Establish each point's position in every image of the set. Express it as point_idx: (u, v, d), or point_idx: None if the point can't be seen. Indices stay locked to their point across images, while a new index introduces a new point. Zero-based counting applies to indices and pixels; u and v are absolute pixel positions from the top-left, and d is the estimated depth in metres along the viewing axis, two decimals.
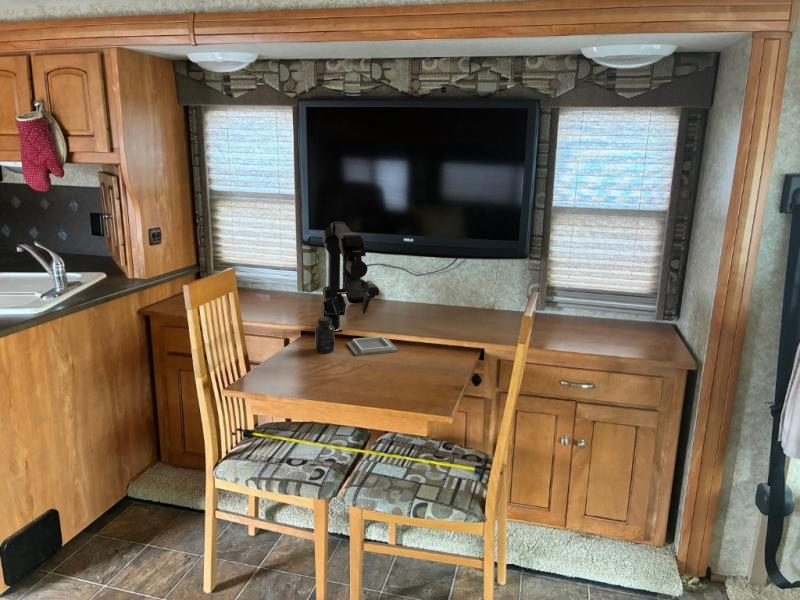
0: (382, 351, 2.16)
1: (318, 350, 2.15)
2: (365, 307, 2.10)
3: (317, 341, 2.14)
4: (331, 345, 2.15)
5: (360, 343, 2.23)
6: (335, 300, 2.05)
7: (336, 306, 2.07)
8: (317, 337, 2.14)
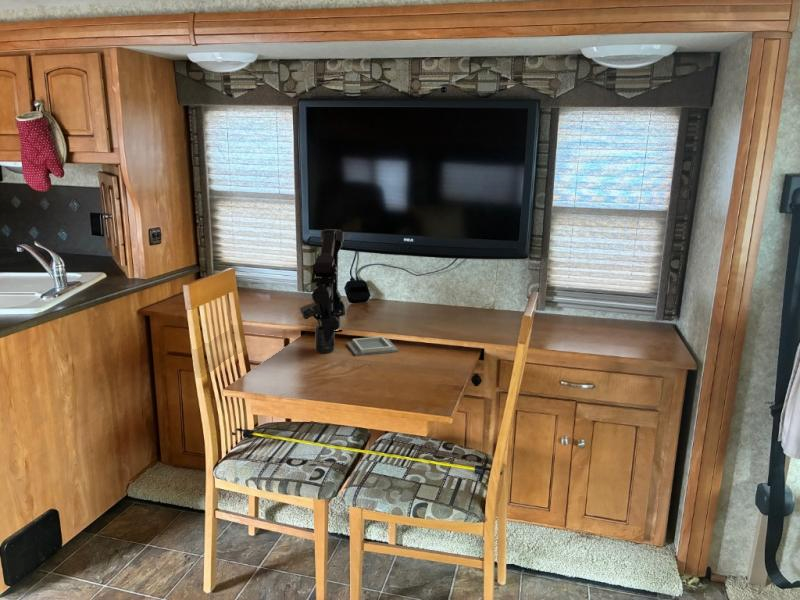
0: (382, 351, 2.16)
1: (318, 350, 2.15)
2: (324, 335, 2.12)
3: (317, 341, 2.14)
4: (331, 345, 2.15)
5: (360, 343, 2.23)
6: (315, 318, 2.18)
7: None
8: (317, 337, 2.14)
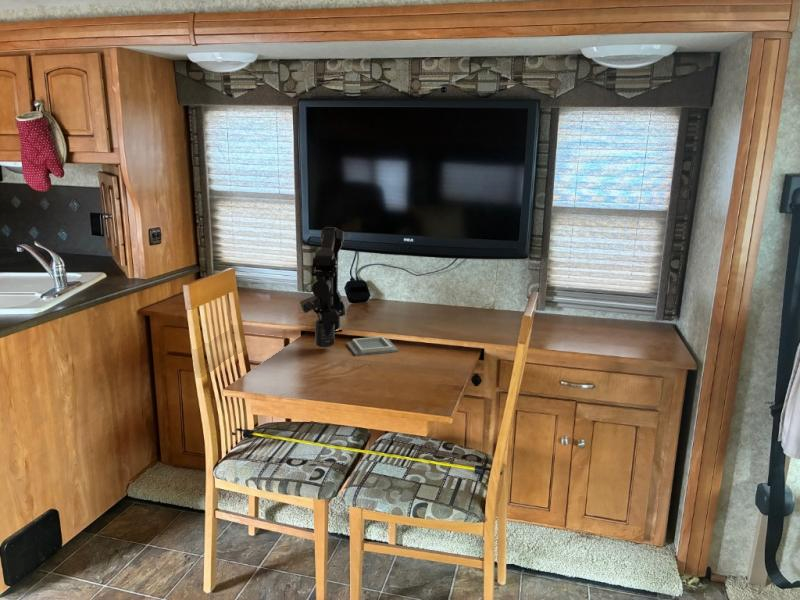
0: (382, 351, 2.16)
1: (318, 344, 2.14)
2: (324, 328, 2.11)
3: (317, 335, 2.14)
4: (331, 339, 2.14)
5: (360, 343, 2.23)
6: (315, 311, 2.18)
7: None
8: (316, 331, 2.13)
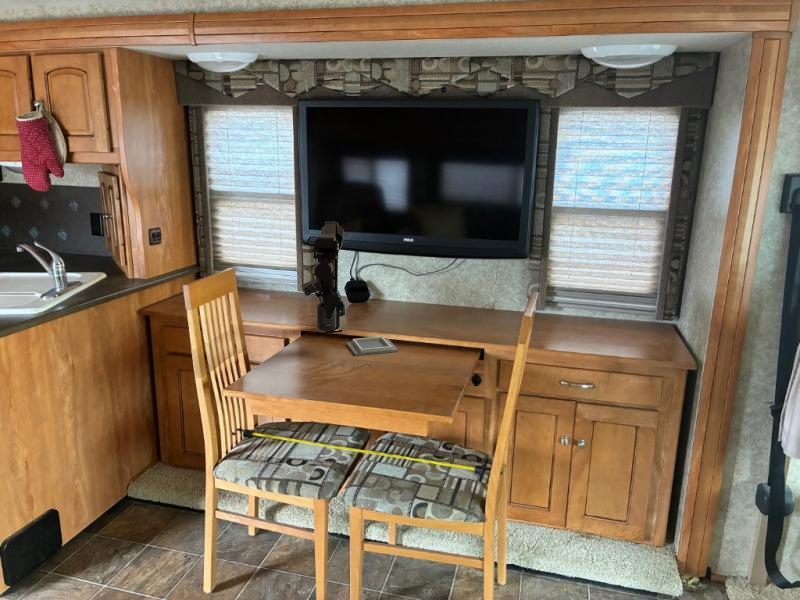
0: (382, 351, 2.16)
1: (319, 327, 2.13)
2: None
3: (318, 318, 2.12)
4: (333, 322, 2.13)
5: (360, 343, 2.23)
6: (316, 295, 2.16)
7: None
8: (318, 314, 2.12)
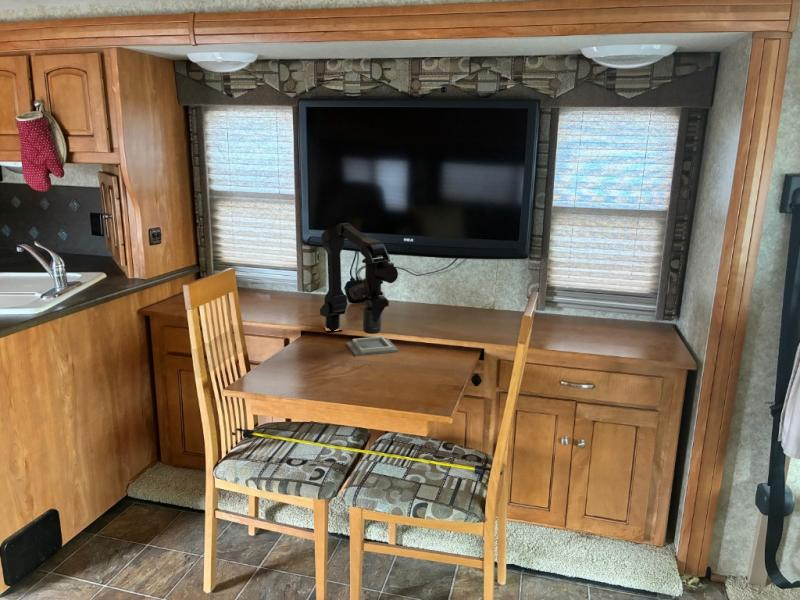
0: (382, 351, 2.16)
1: (366, 331, 2.17)
2: (373, 315, 2.14)
3: (365, 322, 2.16)
4: (379, 326, 2.17)
5: (360, 343, 2.23)
6: None
7: None
8: (365, 318, 2.16)
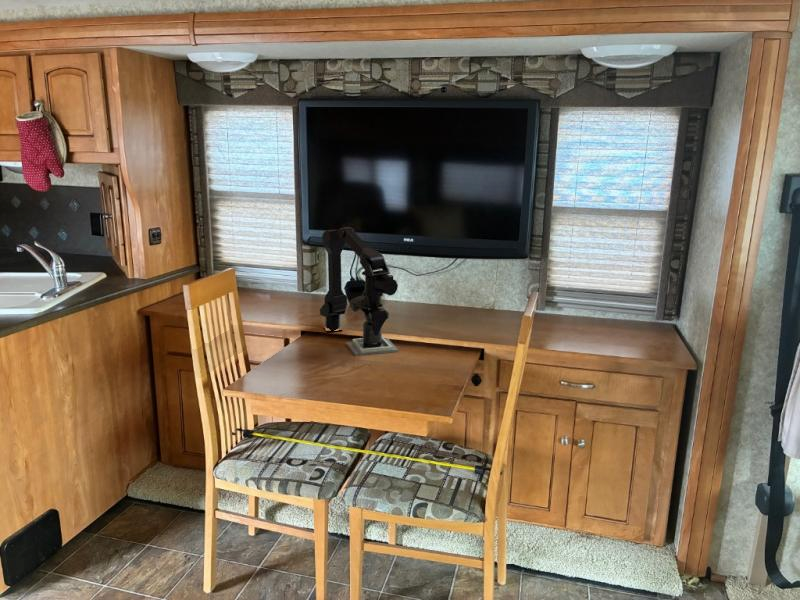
0: (382, 351, 2.16)
1: (366, 345, 2.18)
2: None
3: (365, 337, 2.18)
4: (379, 341, 2.18)
5: (360, 343, 2.23)
6: None
7: (365, 316, 2.23)
8: (365, 333, 2.17)
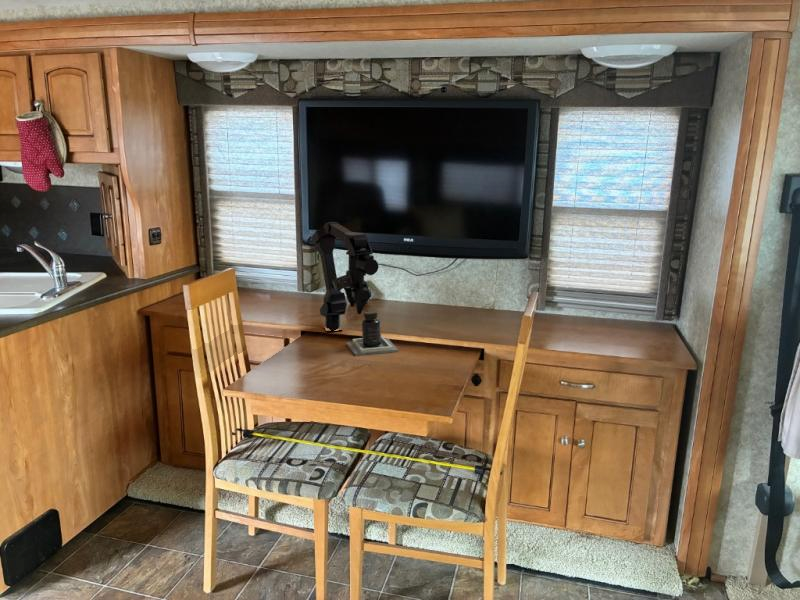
0: (382, 351, 2.16)
1: (366, 344, 2.18)
2: (356, 307, 2.17)
3: (364, 335, 2.18)
4: (378, 338, 2.18)
5: (360, 343, 2.23)
6: (345, 289, 2.26)
7: (348, 296, 2.26)
8: (364, 331, 2.18)
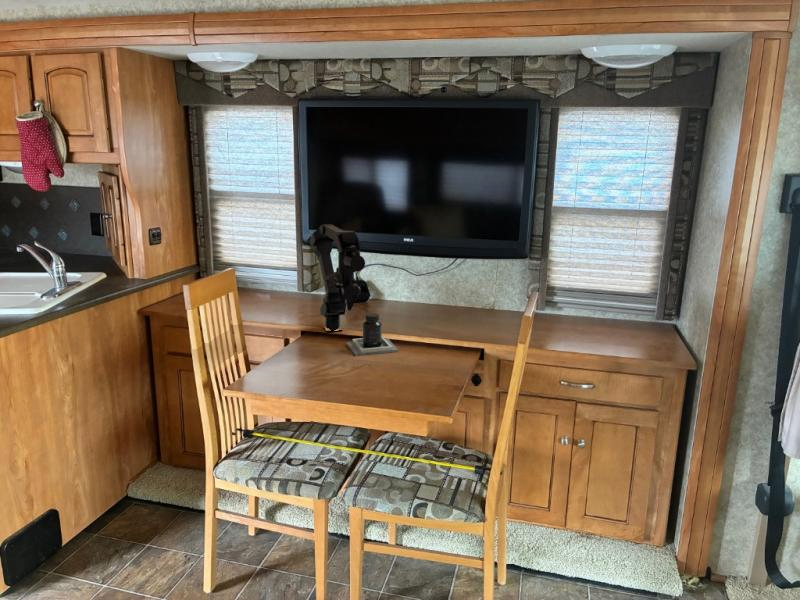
0: (382, 351, 2.16)
1: (366, 346, 2.18)
2: None
3: (365, 337, 2.18)
4: (379, 341, 2.18)
5: (360, 343, 2.23)
6: (335, 286, 2.28)
7: (339, 293, 2.29)
8: (365, 333, 2.17)
